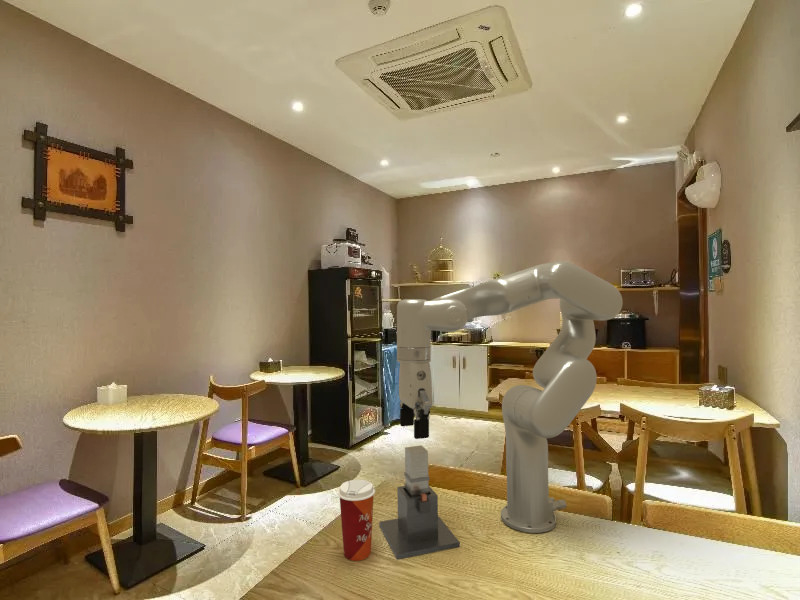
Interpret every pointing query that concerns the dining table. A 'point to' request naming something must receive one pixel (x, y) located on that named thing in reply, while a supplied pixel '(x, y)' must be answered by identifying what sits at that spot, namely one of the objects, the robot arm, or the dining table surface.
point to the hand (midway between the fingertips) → (413, 431)
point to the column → (416, 471)
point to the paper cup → (356, 518)
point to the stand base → (417, 526)
